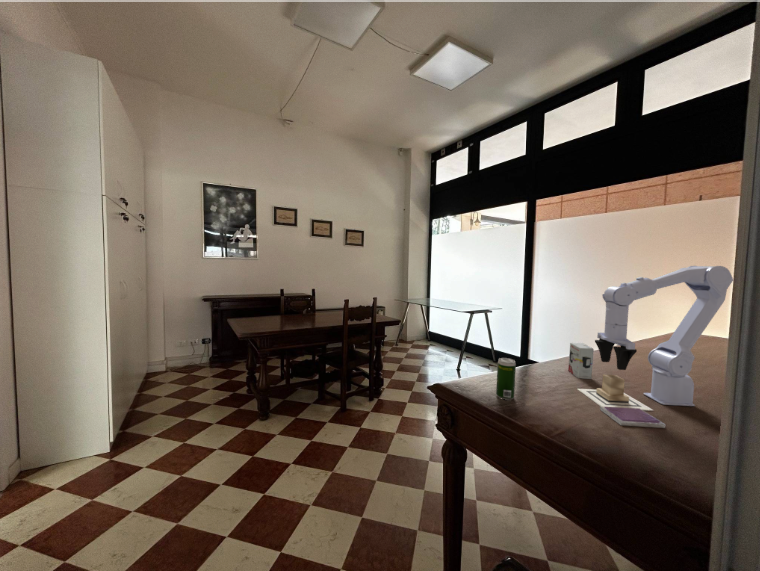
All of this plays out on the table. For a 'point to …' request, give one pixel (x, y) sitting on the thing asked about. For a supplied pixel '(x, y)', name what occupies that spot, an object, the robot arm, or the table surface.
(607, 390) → the wooden stamp
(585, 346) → the ink box
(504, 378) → the green canister
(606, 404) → the paper sheet
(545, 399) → the table surface
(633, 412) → the ink pad
